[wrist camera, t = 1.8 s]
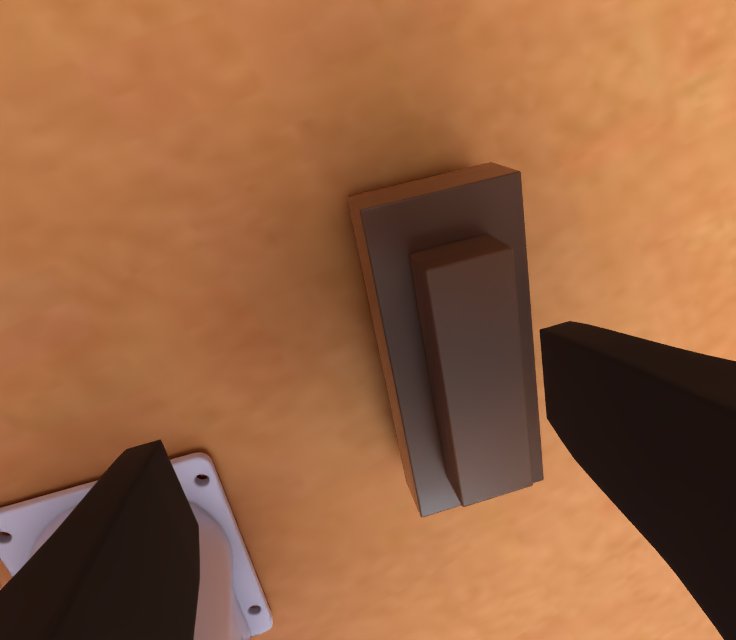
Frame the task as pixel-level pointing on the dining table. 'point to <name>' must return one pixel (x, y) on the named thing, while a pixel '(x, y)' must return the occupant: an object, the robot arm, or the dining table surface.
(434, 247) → the brush
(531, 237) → the dining table surface
